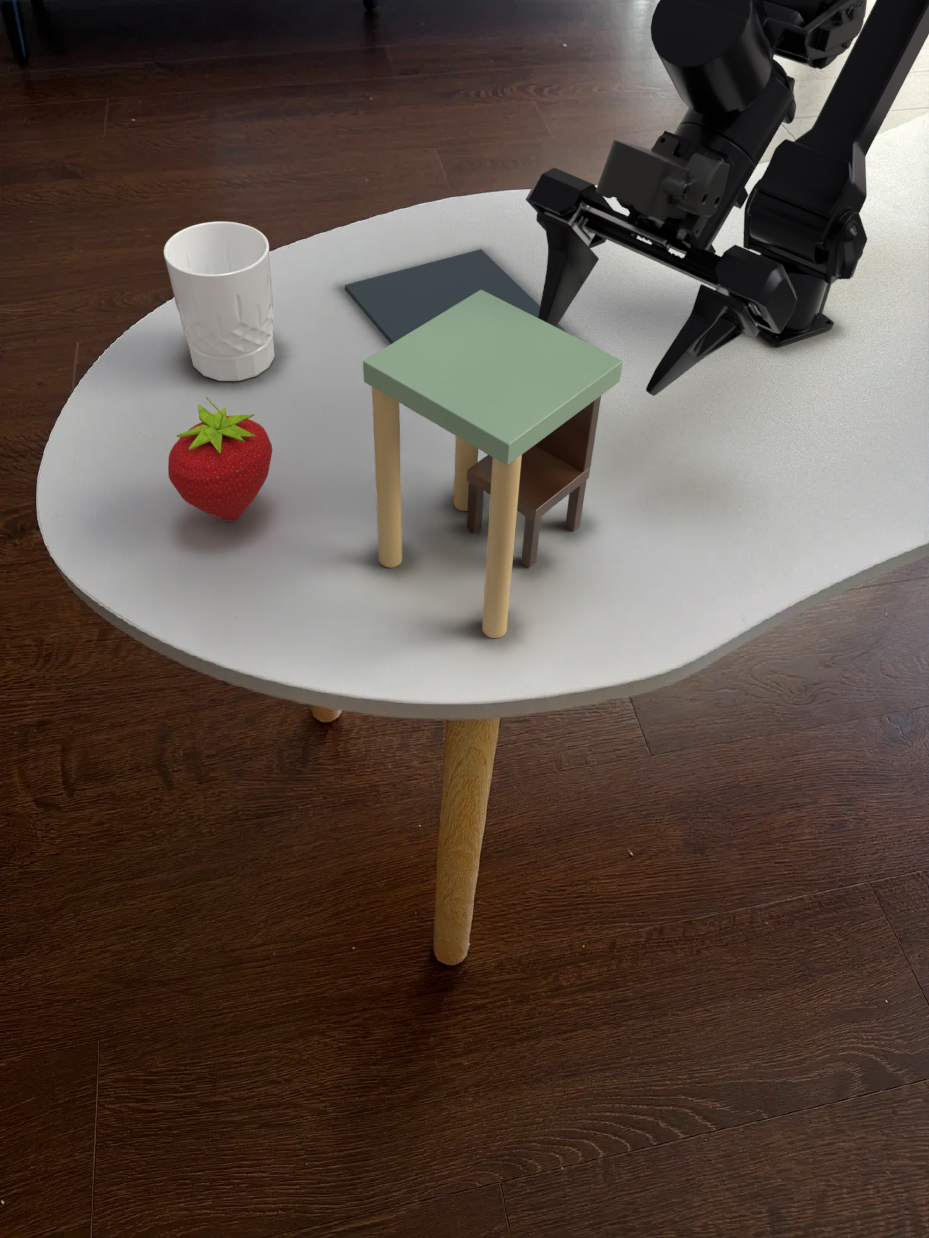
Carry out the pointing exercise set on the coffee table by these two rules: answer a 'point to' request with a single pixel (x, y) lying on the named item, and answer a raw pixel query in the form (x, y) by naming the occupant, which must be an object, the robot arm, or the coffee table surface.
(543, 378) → the side table
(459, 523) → the coffee table surface
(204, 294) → the white cup
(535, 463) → the chair
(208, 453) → the strawberry
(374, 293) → the mat
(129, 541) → the coffee table surface
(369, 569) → the coffee table surface
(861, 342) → the coffee table surface
